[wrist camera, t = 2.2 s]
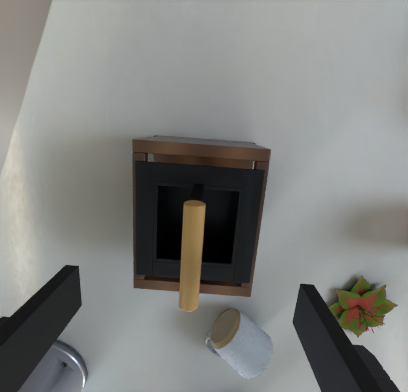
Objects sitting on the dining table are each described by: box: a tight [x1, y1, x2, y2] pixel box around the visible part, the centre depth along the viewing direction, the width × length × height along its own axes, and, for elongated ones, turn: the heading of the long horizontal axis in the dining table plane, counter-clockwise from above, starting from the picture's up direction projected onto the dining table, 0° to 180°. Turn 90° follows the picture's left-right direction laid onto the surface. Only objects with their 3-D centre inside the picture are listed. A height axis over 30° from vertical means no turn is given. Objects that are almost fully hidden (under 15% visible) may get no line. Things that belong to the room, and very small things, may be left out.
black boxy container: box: [135, 161, 265, 312], centre depth 25 cm, size 12×12×14 cm
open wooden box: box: [133, 136, 271, 297], centre depth 31 cm, size 14×16×13 cm
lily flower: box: [328, 276, 398, 337], centre depth 40 cm, size 12×12×5 cm
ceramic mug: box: [205, 309, 273, 379], centre depth 41 cm, size 11×8×8 cm
